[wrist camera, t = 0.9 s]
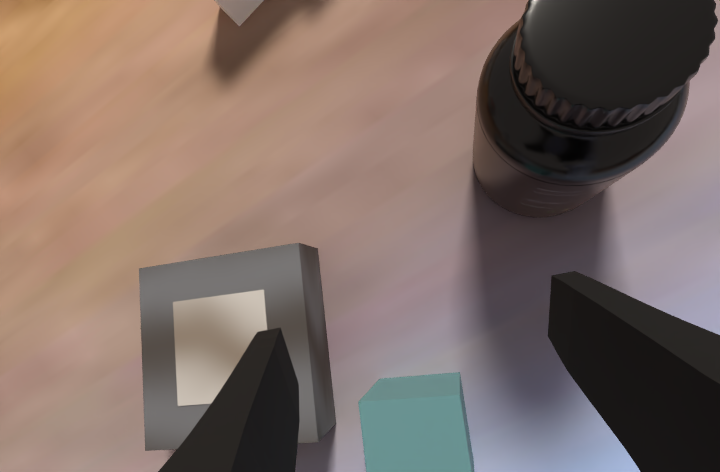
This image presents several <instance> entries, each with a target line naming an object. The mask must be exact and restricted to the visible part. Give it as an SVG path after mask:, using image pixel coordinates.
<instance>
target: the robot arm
mask: <svg viewBox="0 0 720 472" xmlns="http://www.w3.org/2000/svg"><path fill="white" fill-rule="evenodd" d="M548 337H549V339H550V340H551V342H552V344H553V346H554V348H555V350H556V352H557V353H558V355H559V357H560V359H561V360H562V362H563V364H564V366H565V367H566V369H567V371H568V372H569V373H570V375H571V376H572V378H573V379H574V380H575V382H576V383H577V384H578V386H579V387H580V388H581V390H582V391H583V393H584V394H585V395H586V397H587V398H588V399H589V401H590V402H591V403H592V405H593V406H594V407H595V409H596V410H597V411H598V413H599V414H600V415H601V417H602V418H603V419H604V421H605V422H606V423H607V425H608V426H609V427H610V429H611V430H612V431H613V433H614V434H615V435H616V437H617V438H618V439H619V441H620V442H621V443H622V445H623V446H624V448H625V449H626V450H627V452H628V453H629V455H630V456H631V458H632V459H633V461H634V462H635V463H636V465H637V466H638V468H639V470H640V471H641V472H720V335H718V334H715V333H713V332H710V331H708V330H705V329H703V328H701V327H698V326H696V325H693V324H691V323H688V322H686V321H683V320H681V319H679V318H677V317H674V316H672V315H670V314H667V313H665V312H663V311H661V310H658V309H656V308H654V307H652V306H650V305H647V304H645V303H643V302H641V301H639V300H637V299H634V298H632V297H630V296H628V295H626V294H624V293H622V292H620V291H617V290H615V289H613V288H611V287H609V286H607V285H605V284H603V283H600V282H598V281H596V280H594V279H592V278H589V277H587V276H585V275H583V274H580V273H578V272H575V271H574V272H568V273H563V274H558V275H553V276H552V279H551V295H550V311H549V327H548ZM299 422H300V419H299V383H298V380H297V377H296V374H295V371H294V368H293V365H292V361H291V358H290V355H289V352H288V349H287V346H286V343H285V340H284V337H283V334H282V331H281V327H280V328H275V329H269V330H264V331H259V332H257V333H256V335H255V336H254V338H253V339H252V341H251V342H250V344H249V346H248V347H247V349H246V351H245V352H244V354H243V355H242V357H241V359H240V360H239V362H238V364H237V365H236V367H235V368H234V370H233V372H232V373H231V375H230V376H229V378H228V379H227V381H226V382H225V384H224V385H223V387H222V388H221V390H220V391H219V393H218V394H217V396H216V397H215V399H214V400H213V402H212V403H211V405H210V406H209V407H208V409H207V410H206V412H205V413H204V414H203V416H202V417H201V419H200V420H199V421H198V423H197V424H196V425H195V427H194V428H193V430H192V431H191V432H190V434H189V435H188V436H187V437H186V439H185V440H184V441H183V443H182V444H181V445H180V446H179V448H178V449H177V450H176V451H175V453H174V454H173V455H172V456H171V457H170V459H169V460H168V461H167V462H166V463H165V464H164V466H163V467H162V468H161V469H160V470H159V471H158V472H295V465H296V455H297V444H298V433H299Z"/></svg>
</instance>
